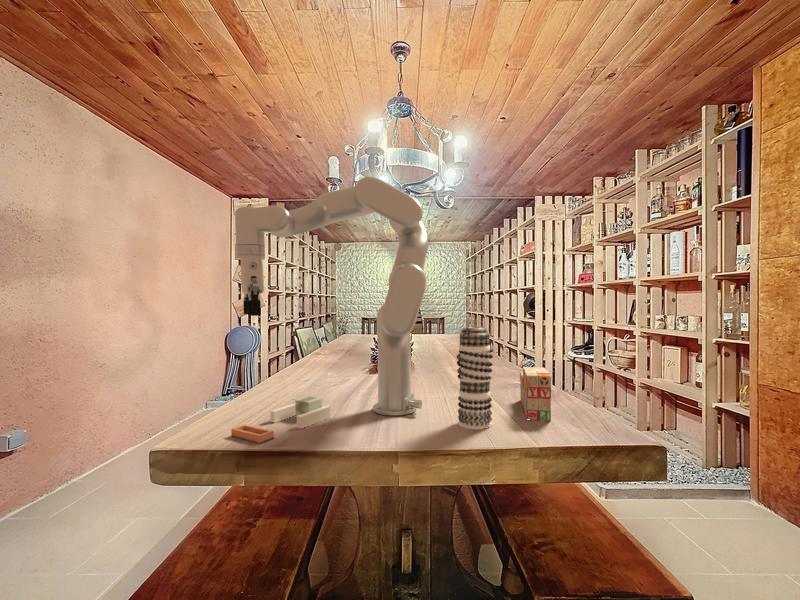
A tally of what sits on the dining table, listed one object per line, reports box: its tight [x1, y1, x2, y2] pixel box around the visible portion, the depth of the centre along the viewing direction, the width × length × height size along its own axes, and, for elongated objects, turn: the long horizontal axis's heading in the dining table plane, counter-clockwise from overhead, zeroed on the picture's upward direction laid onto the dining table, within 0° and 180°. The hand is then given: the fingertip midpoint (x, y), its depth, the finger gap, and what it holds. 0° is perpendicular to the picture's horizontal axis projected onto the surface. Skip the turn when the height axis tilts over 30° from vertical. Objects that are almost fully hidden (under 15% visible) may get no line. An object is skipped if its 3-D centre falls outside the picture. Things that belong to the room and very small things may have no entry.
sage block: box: [294, 396, 323, 419], centre depth 116 cm, size 5×5×5 cm
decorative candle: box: [456, 326, 494, 430], centre depth 108 cm, size 9×9×25 cm
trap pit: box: [230, 424, 275, 445], centre depth 99 cm, size 10×4×2 cm, turn 59°
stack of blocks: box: [519, 366, 552, 422], centre depth 121 cm, size 21×6×12 cm, turn 169°
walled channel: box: [269, 402, 331, 430], centre depth 113 cm, size 11×11×3 cm
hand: (251, 314), depth 116 cm, fingers open, 9 cm apart
